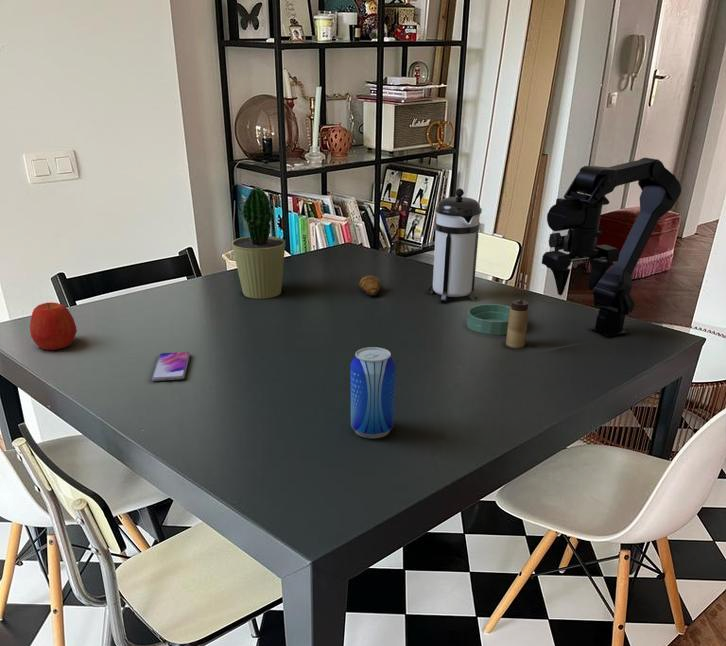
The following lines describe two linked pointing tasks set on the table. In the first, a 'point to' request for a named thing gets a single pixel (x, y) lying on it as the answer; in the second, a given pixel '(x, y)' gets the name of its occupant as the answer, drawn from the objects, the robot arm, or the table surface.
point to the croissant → (370, 285)
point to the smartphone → (171, 366)
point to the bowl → (489, 319)
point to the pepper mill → (517, 324)
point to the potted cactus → (259, 250)
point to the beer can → (372, 392)
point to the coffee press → (456, 246)
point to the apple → (52, 326)
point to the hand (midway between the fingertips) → (575, 292)
